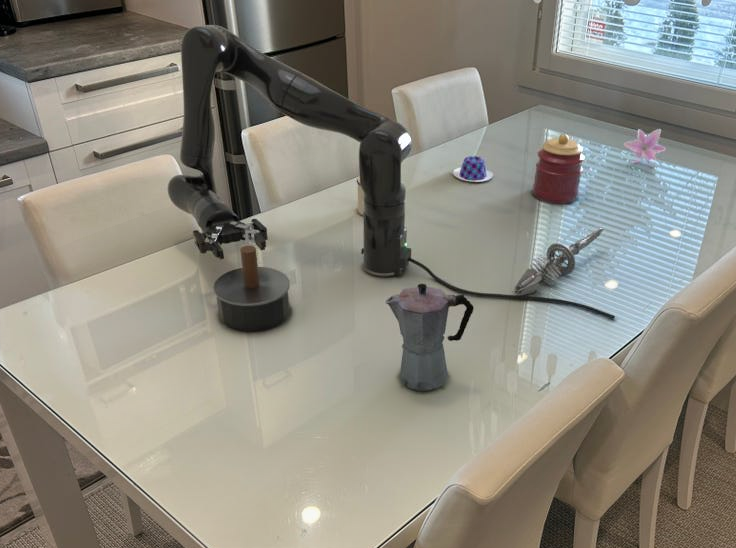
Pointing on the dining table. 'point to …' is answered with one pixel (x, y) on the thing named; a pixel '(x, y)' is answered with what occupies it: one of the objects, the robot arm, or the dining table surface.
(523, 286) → the spaceship
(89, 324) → the dining table surface
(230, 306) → the pan
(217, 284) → the lid
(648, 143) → the lily
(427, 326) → the moka pot
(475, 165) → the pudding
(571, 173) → the kitchen canister
